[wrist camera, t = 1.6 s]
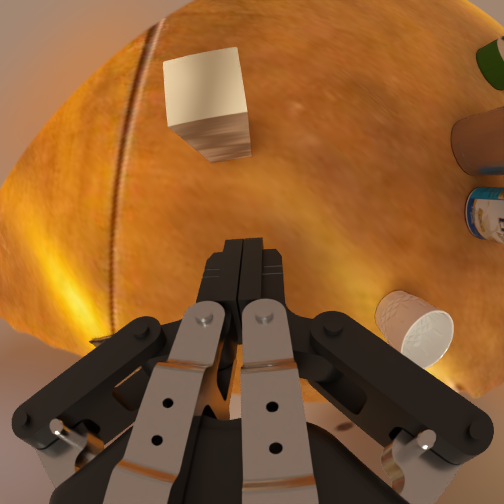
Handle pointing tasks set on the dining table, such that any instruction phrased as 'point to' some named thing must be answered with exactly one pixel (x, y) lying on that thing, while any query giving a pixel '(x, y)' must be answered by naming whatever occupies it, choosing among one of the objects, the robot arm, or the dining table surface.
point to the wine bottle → (492, 62)
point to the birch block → (208, 103)
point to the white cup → (414, 327)
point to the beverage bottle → (486, 213)
